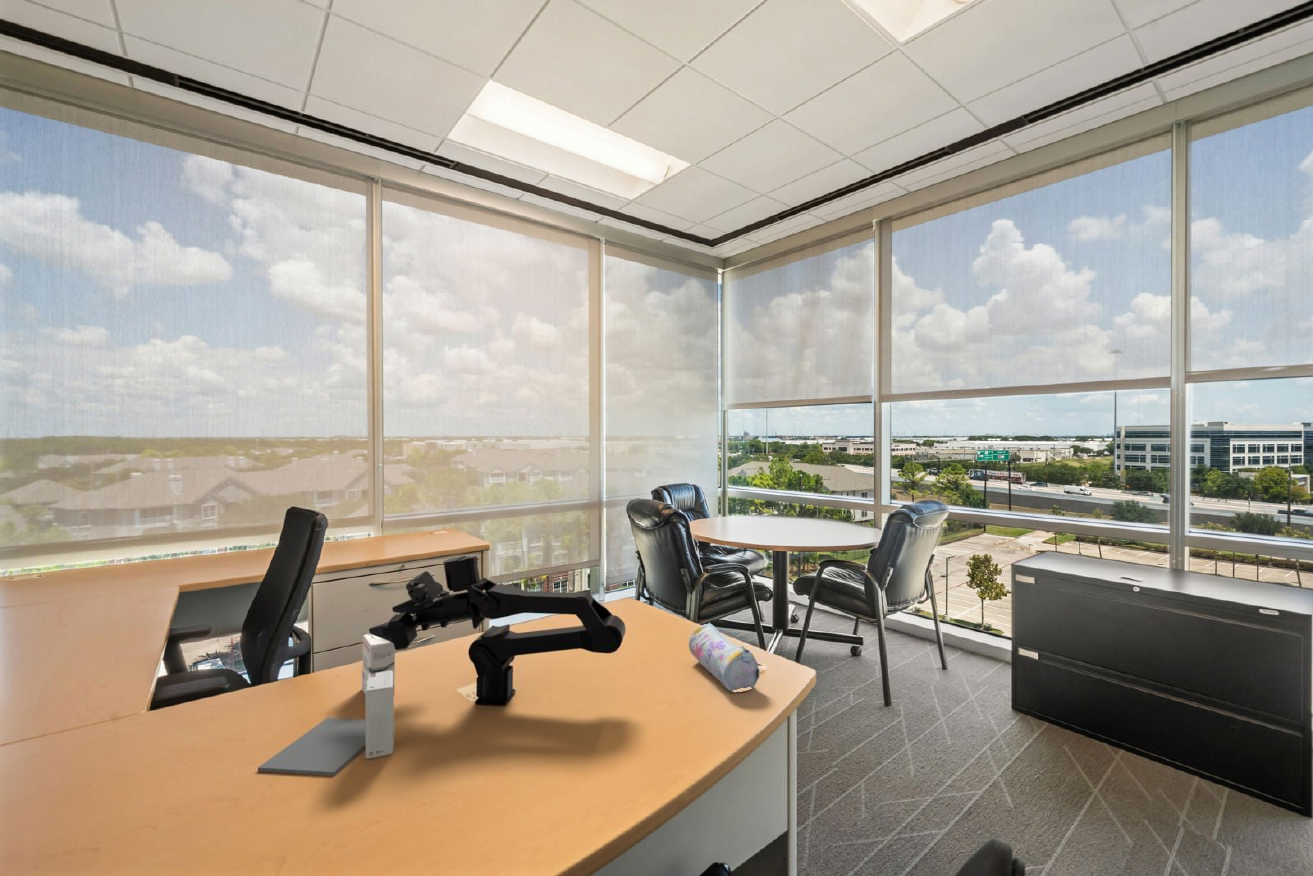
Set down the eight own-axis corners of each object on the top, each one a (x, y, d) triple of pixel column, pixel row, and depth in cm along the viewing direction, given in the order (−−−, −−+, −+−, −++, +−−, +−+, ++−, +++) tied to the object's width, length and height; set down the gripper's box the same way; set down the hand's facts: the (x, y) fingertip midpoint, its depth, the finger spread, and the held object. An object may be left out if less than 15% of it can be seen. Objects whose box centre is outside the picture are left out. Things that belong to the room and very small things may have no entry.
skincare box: (393, 754, 90) (395, 687, 89) (363, 760, 88) (365, 691, 87) (394, 732, 95) (395, 668, 94) (365, 738, 93) (367, 673, 92)
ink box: (395, 697, 111) (396, 640, 111) (369, 704, 108) (370, 646, 108) (385, 683, 117) (387, 629, 118) (360, 689, 114) (362, 634, 115)
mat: (392, 724, 100) (392, 721, 100) (334, 776, 84) (334, 772, 84) (327, 720, 101) (327, 717, 101) (257, 771, 85) (257, 767, 85)
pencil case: (761, 692, 114) (762, 648, 115) (726, 699, 111) (726, 654, 112) (717, 657, 134) (717, 620, 134) (686, 662, 131) (686, 623, 131)
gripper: (460, 556, 120) (394, 567, 120) (422, 592, 101) (344, 605, 102) (471, 601, 121) (406, 612, 122) (436, 645, 103) (360, 657, 104)
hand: (381, 619), depth 112 cm, fingers open, 9 cm apart
